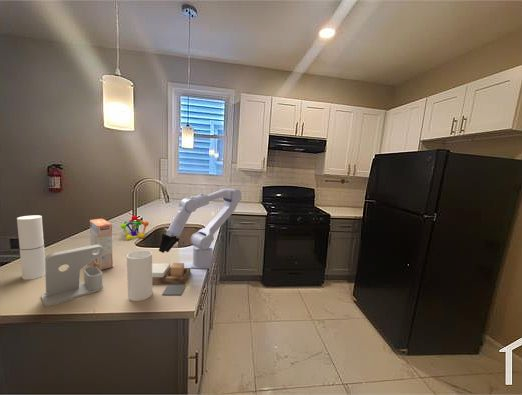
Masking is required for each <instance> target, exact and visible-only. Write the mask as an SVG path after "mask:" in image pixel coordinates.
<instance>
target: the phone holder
mask: <svg viewBox="0 0 522 395" xmlns="http://www.w3.org/2000/svg"><path fill="white" fill-rule="evenodd" d="M94 249H100V251H99V252H97V253H92V251H93V250H94ZM102 254H103V248H102V246H101V245H98V244H97V245H91V244H90V245H87V246H81V247H77V248H72V249H65V250H62V251H55V252H50V253H49V254H47V255H45V274H46V275H45V292H43V293H41V295H40V297H41V298H40V299H41V301H42V303H43V305H45V307H51V306H50V305H52V306H54V304H55V305H57V303H58V304H60V302H61V303H63V301H64V302H67V301H71V300H73V299H77V298H80V297H82V296H86V295H88V294H92V293H95V292H98V291H102V290H103V289H104V285H103V272H102V270H99V269H98V268H97V267H96V266H89V267H86V266H88V265H89V264H91V263H92V261H94V260H95V259H97V258H98V257H100V256H101V255H102ZM63 265H64V266H65V265H66V266H67V265H68V267H67V269H65V270H60V267H62V266H63ZM84 267H86V268H84ZM83 268H84V269H83ZM82 269H83V281H81V282H80V278H81V276H80V274H81V273H80V272H81V270H82Z"/></svg>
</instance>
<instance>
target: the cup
mask: <svg viewBox="0 0 522 395" xmlns="http://www.w3.org/2000/svg"><path fill="white" fill-rule="evenodd" d="M152 263H153V252H152V251H151V250H147V249H145V250H144V249H141V250H136V251H131V252H129V253H127V255H126V272H127V275H126V276H127V298H128V300H129V301H132V302H139V301H144V300H147V299H149V298H150V297H151V296H152V295H153V284H152Z"/></svg>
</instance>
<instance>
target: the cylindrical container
mask: <svg viewBox="0 0 522 395" xmlns="http://www.w3.org/2000/svg"><path fill="white" fill-rule="evenodd" d="M16 222H17V224H16V225H17V234H18V245H19V255H20V263H21V264H20V265H21V266H20V268H21V277H22V279H23V280H25V281H26V280H27V281H28V280H36V279H39V278H42V277H44V276H46V274H45V258H46V254H45V243H44V242H45V240H44V228H43V216H42V215H38V214H37V215H35V214H33V215H23V216H19V217H16Z"/></svg>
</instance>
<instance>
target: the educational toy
mask: <svg viewBox="0 0 522 395" xmlns="http://www.w3.org/2000/svg"><path fill="white" fill-rule="evenodd" d="M132 221H135V222H132ZM149 224H150V223H149V222H148V221H144V220H143V221H142V220H141V219H140V218H138V216H136V215H132V216H131V219H130V220H128V221H124V222H123V223H122V224H120V228H121V229H122V230H123V231H124V233H125V235H126V236H125V239H126V240H127V241H130V240H131V239H134V238H139V239H144V238H146V234H145V231H146V228H147V227H148V226H149ZM130 225H136V227H135V230H133V229H132V228H131V227H130ZM141 225H143V230H142V232H141V233H137V230H138V229H139V227H140V226H141ZM126 228H127V229H129V231H130V232H131V233H130V234H129V233H128V231H127V229H126Z"/></svg>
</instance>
